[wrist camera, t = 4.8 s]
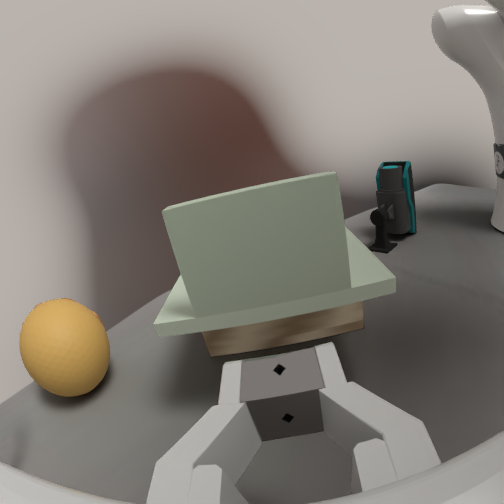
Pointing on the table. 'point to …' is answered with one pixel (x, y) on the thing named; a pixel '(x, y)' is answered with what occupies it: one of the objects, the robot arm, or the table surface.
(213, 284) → the lid
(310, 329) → the wooden box
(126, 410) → the table surface
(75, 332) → the stress ball
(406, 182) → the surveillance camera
